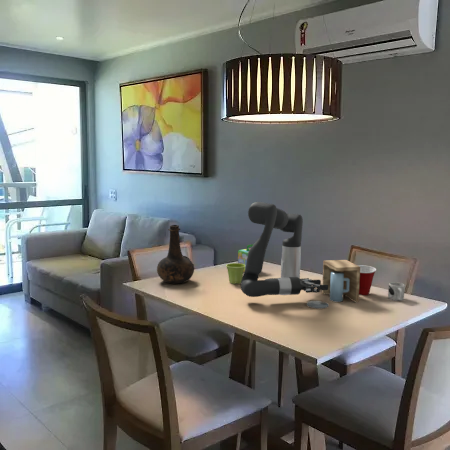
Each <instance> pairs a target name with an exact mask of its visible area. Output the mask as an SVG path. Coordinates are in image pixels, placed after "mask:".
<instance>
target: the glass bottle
mask: <svg viewBox="0 0 450 450" xmlns="http://www.w3.org/2000/svg"><path fill="white" fill-rule="evenodd" d="M168 231H169V244H168V253H167V255H166V257H164V258H162V259H161V260H159V262H158V264H157V266H156V273H157V274H158V277H159V278H160V279H161V280H162V281H163V282H165V283H167V284H172V285H173V284H175V285H177V284H184V283H186V282H188V281H189V280H190V279H191V278H192V277H193V275H194V273H195V267H194V264H193V262H192V260H191V259H190V258H189V257H188V256H186V255H183V253H182V248H181V242H180V231H181V228H180V226H179V225H178V224H170V225H169V228H168Z"/></svg>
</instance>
